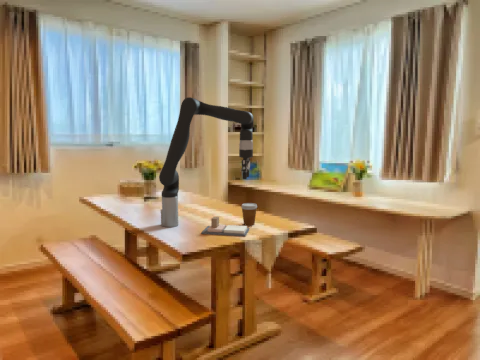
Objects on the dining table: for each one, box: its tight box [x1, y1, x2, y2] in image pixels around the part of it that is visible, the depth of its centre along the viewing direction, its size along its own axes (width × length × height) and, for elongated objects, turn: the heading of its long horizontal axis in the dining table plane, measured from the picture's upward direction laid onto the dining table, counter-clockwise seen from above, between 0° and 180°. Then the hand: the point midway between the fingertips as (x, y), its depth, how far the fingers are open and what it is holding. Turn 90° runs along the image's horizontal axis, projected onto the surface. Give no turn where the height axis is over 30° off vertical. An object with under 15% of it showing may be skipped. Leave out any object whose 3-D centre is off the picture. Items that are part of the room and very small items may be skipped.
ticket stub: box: [208, 216, 227, 232], centre depth 194 cm, size 8×10×6 cm
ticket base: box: [200, 224, 250, 237], centre depth 193 cm, size 24×13×2 cm, turn 79°
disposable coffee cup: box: [241, 202, 258, 227], centre depth 208 cm, size 10×10×12 cm
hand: (245, 178), depth 194 cm, fingers open, 8 cm apart
